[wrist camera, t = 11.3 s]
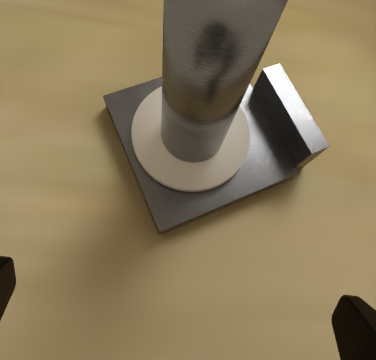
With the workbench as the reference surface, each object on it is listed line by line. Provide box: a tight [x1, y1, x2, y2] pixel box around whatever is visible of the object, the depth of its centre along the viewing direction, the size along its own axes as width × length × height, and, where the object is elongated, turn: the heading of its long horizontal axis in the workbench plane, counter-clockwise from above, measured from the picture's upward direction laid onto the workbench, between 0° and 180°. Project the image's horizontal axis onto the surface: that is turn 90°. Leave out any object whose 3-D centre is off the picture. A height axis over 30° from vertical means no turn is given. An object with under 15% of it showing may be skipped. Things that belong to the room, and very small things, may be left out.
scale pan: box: [131, 86, 250, 192], centre depth 23 cm, size 8×8×1 cm
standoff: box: [161, 0, 288, 163], centre depth 17 cm, size 4×4×12 cm
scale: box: [103, 63, 329, 235], centre depth 23 cm, size 11×13×4 cm
